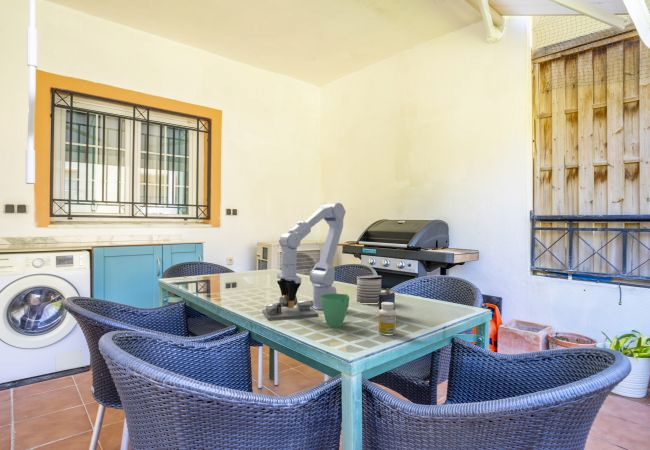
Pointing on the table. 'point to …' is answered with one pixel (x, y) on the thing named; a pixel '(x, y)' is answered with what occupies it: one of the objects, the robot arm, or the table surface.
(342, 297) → the green cup
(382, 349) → the table surface
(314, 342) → the table surface
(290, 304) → the coupler
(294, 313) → the base board
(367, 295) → the can
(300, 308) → the shaft
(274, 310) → the shaft
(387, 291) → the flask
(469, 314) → the table surface
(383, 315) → the supplement bottle
